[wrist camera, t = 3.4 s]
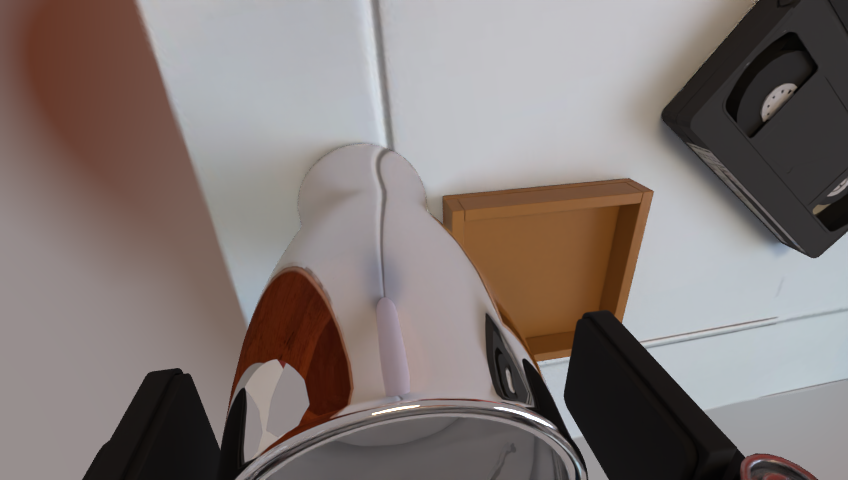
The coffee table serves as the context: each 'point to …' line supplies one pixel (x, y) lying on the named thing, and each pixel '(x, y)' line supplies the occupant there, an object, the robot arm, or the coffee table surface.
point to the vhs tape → (777, 118)
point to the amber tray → (555, 251)
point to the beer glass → (386, 349)
